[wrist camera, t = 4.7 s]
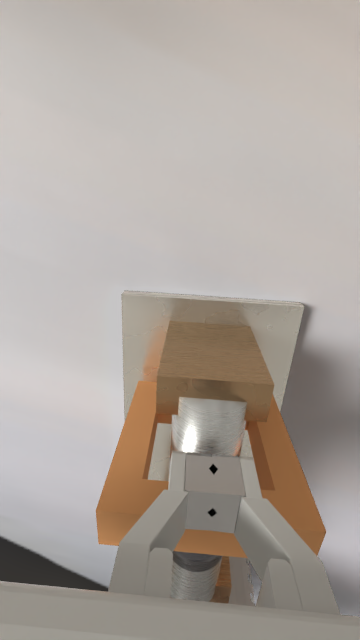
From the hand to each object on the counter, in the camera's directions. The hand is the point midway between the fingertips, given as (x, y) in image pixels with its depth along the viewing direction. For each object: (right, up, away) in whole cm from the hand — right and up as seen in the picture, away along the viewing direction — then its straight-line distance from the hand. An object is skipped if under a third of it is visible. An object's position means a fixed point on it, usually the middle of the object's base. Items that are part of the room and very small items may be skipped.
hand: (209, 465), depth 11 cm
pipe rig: (0, -2, +11) cm, 11 cm away
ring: (0, 0, +8) cm, 8 cm away
